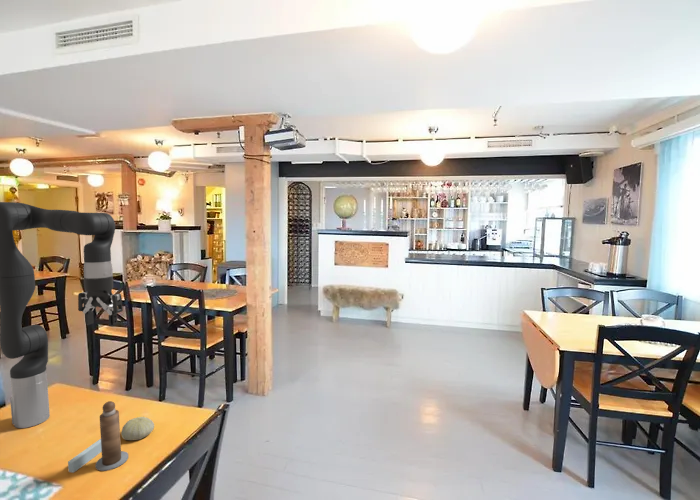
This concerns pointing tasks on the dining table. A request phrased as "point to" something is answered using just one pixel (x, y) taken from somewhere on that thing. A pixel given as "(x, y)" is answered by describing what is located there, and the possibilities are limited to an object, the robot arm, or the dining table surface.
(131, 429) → the sea urchin shell
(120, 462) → the gray pad
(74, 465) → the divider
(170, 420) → the dining table surface
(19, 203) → the robot arm
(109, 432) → the pepper mill
